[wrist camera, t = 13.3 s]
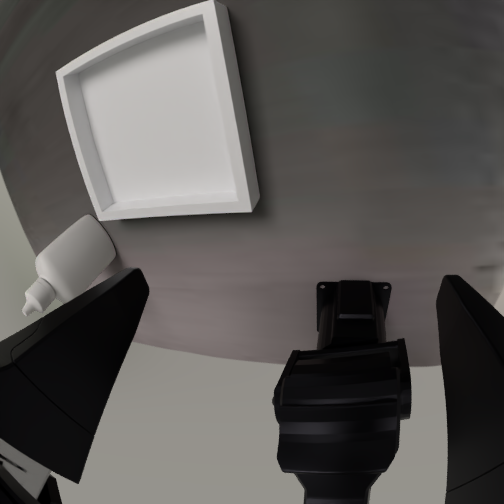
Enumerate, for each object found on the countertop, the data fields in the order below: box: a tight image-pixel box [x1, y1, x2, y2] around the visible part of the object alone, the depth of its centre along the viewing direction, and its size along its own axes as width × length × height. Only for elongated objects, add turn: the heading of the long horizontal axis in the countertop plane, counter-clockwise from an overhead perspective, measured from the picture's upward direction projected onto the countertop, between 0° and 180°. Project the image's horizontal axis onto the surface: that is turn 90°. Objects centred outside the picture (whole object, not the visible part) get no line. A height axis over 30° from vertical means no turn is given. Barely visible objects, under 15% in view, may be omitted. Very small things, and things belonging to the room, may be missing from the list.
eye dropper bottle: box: [22, 215, 116, 316], centre depth 23 cm, size 4×6×12 cm
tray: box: [56, 0, 260, 221], centre depth 18 cm, size 14×14×2 cm
